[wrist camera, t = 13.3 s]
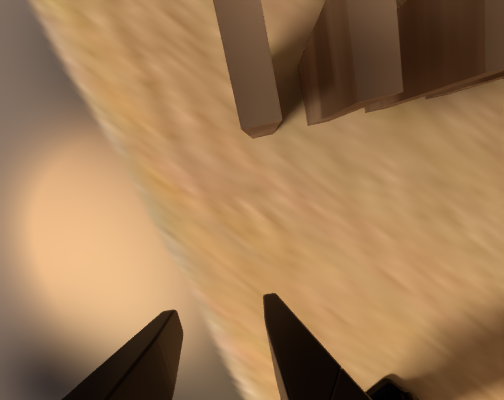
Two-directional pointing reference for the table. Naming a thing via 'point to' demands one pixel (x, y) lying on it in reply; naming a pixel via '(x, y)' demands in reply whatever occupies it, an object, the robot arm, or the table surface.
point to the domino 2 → (350, 58)
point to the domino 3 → (446, 45)
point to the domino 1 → (249, 65)
